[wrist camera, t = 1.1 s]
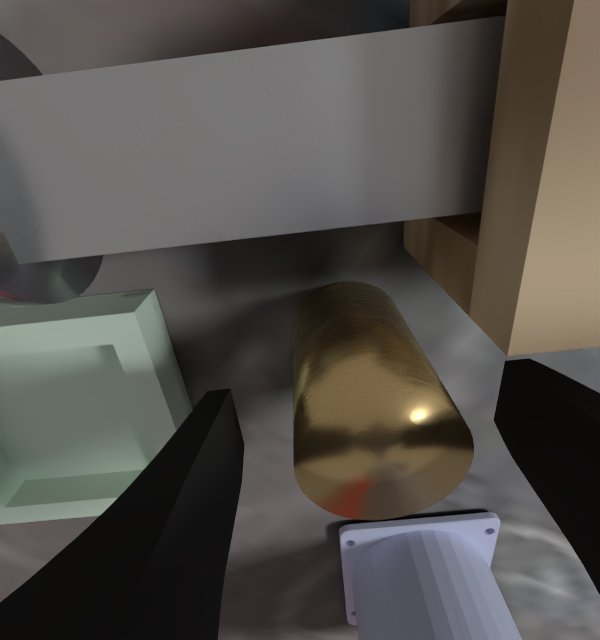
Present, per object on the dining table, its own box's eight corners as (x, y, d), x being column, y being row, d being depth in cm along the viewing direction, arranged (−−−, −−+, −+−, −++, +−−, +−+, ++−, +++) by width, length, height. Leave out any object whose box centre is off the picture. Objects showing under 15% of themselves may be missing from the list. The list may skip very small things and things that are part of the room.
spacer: (400, 370, 14) (464, 512, 9) (298, 380, 14) (303, 526, 9) (402, 275, 12) (484, 383, 7) (286, 287, 13) (282, 403, 7)
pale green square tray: (211, 469, 17) (203, 506, 15) (20, 487, 17) (-8, 525, 15) (154, 288, 12) (134, 312, 11) (-99, 316, 13) (-154, 343, 11)
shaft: (534, 212, 11) (723, 277, 6) (95, 262, 12) (-47, 358, 7) (578, -24, 9) (955, -225, 4) (14, 50, 9) (-313, -43, 4)
